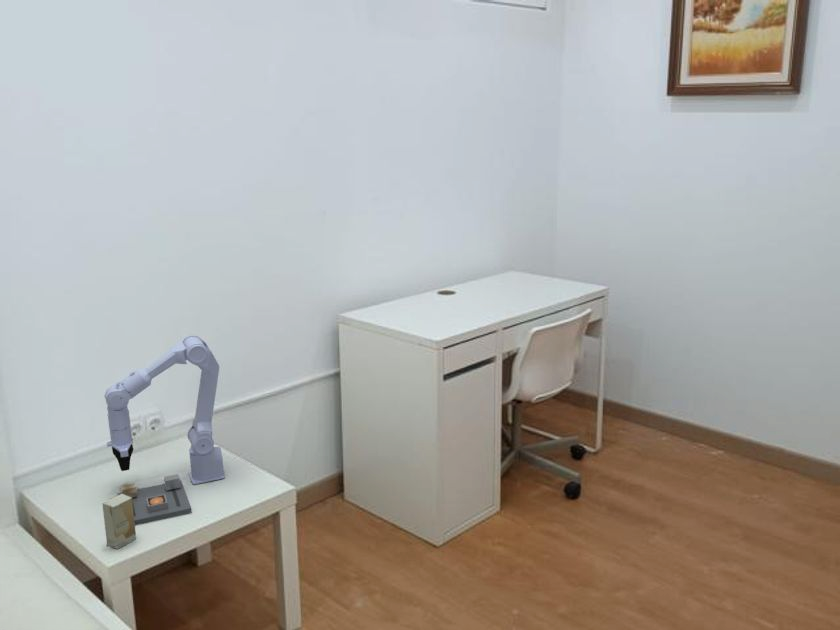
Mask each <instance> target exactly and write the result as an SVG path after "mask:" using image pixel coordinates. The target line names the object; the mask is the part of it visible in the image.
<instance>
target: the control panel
mask: <svg viewBox="0 0 840 630" xmlns="http://www.w3.org/2000/svg"><path fill="white" fill-rule="evenodd" d="M180 487H181V488H176V489H171V490H166V488H165V483H161V484H158V485H157V484H156V485H152V486H146V487H142V488H136V489H137V497H133V498H132V504H133V513H134V523H135V526H139V525H143V524H148V523H152V522H156V521H160V520H166V519H170V518H175V517H179V516H183V515H189V514H191V513H193V510H192V505H191V503H190V500H189V498H188V495H187V492H186V489H185V487H184V485H183V481H182V480H180ZM120 494H122V493H121V492H117V496H118V495H120ZM156 497H161V498H163V500H164V503H159V504H155V505H150V500H151V499H153V498H156Z"/></svg>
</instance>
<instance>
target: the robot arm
mask: <svg viewBox="0 0 840 630" xmlns="http://www.w3.org/2000/svg"><path fill="white" fill-rule="evenodd" d="M187 361H188V363H191V364H192V365H194V366H196V367H198V368H199V369H200V370H201V372H200V380H199V386H198V395H197V399H196V400H197V401H196V407H195V415H194V419H193V420H192V424H191V427H190V428H189V430H188V431H187V439H188V440H189V443H190V445H191V446H190V447H189V450H188V452H189V461H190V471H189V472H188V476H189V479H190V480H191V481H190V482H191V483H192V485H194V486H195V485H200V484H203V483H208V482H214V481H219V480H223V479H225V470H224V469H225V468H224V460H223V459H224V458H223V453H222V449H221V447H220V446H215V442H214V439H213V425H212V424H213V423H212V422H213V414H214V409H215V400H216V395H217V387H218V386H217V385H218V379H219V373H220V364H219V363H218V360H217V359H216V358H215V355H214V354H213V352H212V350H211V349H210V348H209V345H208V344H207V342H205V341H204V340H203V339H202V338H201V337H200V336H197V335H192V334H191V335H188V336H187V337H185V338H184V339H183V340H180V341H178V342H177V343H175V344H174V346H172V347H171V348H170V349H169V350H168V351H166V352H165V353H164V354H162V355H161V356H160V357H158V359H157V360H155V361H154V362H152V363H151V364H150V365H148V366H147V367H146V368H145V369H139V368H138V369H136V370H134V369H133V370H131V371H130V372H129V375H128V376H126V377H125V378H124V379H122V380H121V381H117V382H116V383H115V385H111V386H109V387H108V388H106V390H105V393H104V399H105V402H106V406H107V408H106V410H107V420H108V428H109V436H110V441H107V442H106V445H107V447H111V450H112V454H113V456H115V458H116V460H117V462H118V465H119V469H120V470H121V472H125V471H129V470H130V467H131V458H132V455H133V451H134V445H133V443H134V439H133V435H132V427H131V420H130V419H131V417H130V411H129V409H128V406H129V402H130V400H131V399H134V398H135V397H136V396H137V395H139V394H140V393H142V392H143V391H144V390H146V389H147V388H149V387H150V386H151V385H152V380H153V379H155V377H157V376H159V375H160V374H162V373H163V372H165V371H166V370H168V369H170V368H171V367H172V366H174V365H176V364H179V365H187V364H188V363H187Z"/></svg>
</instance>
